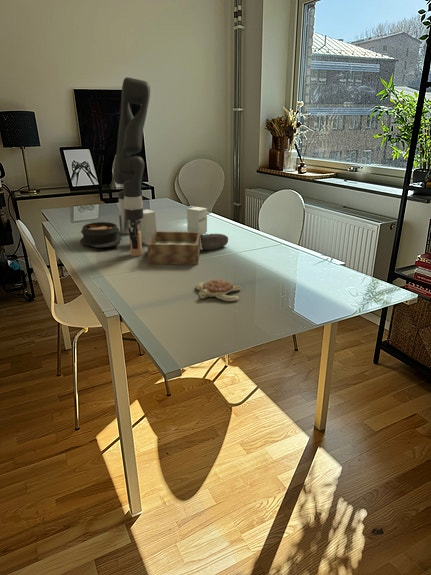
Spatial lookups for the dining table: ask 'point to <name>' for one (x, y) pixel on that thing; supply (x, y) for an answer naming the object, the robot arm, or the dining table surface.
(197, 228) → the supplement box
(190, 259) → the walnut box
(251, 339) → the dining table surface
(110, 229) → the casserole
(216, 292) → the decorative turtle
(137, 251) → the terracotta peg
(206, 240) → the perforated stone tool
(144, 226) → the skincare box
